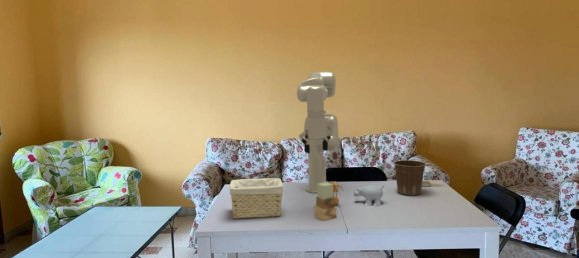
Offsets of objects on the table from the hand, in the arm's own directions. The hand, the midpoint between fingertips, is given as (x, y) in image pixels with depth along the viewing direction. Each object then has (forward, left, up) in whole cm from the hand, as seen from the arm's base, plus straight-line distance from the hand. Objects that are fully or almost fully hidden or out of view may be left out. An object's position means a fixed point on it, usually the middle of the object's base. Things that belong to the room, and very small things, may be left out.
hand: (316, 151), depth 177 cm
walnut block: (+1, +8, -23) cm, 25 cm away
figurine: (-12, -3, -28) cm, 31 cm away
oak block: (+1, +8, -28) cm, 29 cm away
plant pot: (-57, +1, -28) cm, 64 cm away
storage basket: (+25, -13, -29) cm, 40 cm away
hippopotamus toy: (-29, +2, -29) cm, 41 cm away
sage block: (+1, +8, -19) cm, 21 cm away
